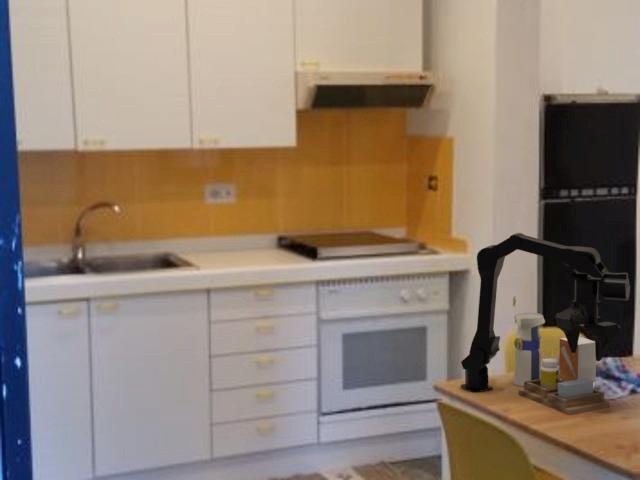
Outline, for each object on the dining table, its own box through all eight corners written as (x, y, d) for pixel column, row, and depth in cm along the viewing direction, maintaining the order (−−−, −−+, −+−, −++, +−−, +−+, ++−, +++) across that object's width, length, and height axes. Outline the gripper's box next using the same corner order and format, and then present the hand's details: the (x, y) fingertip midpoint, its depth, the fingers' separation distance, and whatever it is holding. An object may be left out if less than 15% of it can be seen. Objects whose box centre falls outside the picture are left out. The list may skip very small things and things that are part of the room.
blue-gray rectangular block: (557, 402, 228) (557, 383, 227) (584, 396, 232) (585, 377, 231) (565, 405, 225) (565, 386, 225) (593, 399, 229) (593, 380, 228)
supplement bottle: (559, 393, 235) (559, 362, 234) (540, 393, 236) (540, 362, 235) (558, 388, 239) (558, 358, 238) (540, 387, 240) (540, 357, 239)
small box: (558, 383, 248) (558, 338, 246) (577, 380, 250) (577, 335, 249) (577, 391, 240) (578, 344, 239) (596, 388, 243) (597, 341, 241)
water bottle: (524, 389, 243) (526, 299, 240) (506, 381, 251) (507, 293, 248) (549, 385, 247) (551, 296, 243) (530, 377, 254) (532, 291, 251)
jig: (518, 394, 239) (518, 382, 239) (556, 386, 245) (556, 375, 244) (569, 414, 221) (569, 402, 221) (609, 406, 227) (609, 394, 226)
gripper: (537, 294, 233) (537, 353, 235) (587, 307, 216) (586, 369, 218) (570, 290, 237) (570, 347, 239) (622, 302, 221) (621, 363, 223)
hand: (585, 356), depth 230 cm, fingers open, 9 cm apart
